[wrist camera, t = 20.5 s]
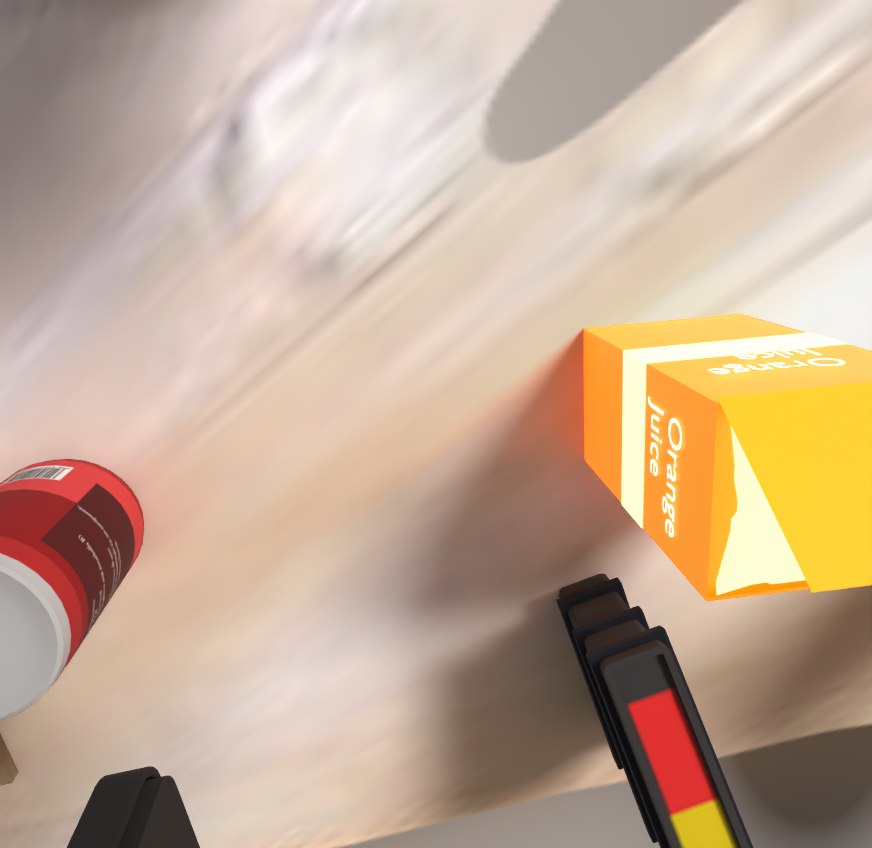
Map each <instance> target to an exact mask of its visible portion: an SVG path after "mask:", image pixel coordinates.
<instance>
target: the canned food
mask: <svg viewBox="0 0 872 848" xmlns="http://www.w3.org/2000/svg"><path fill="white" fill-rule="evenodd" d="M143 534H144V521H143V513H142V510H141V507H140V504H139V501H138V499H137V498H136V496H135V494H134V493H133V491H132V490H131V488H130V487H129V486H128V485H127V484H126V483H125V482H124V481H123V480H122V479H121V478H120V477H118V476H117V475H115V474H114V473H113V472H111V471H110V470H107V469H105V468H103V467H101V466H99V465H97V464H93V463H90V462H86V461H82V460H73V459H62V460H51V461H45V462H41V463H37V464H32V465H30V466H27V467H25V468H23V469H21V470H19V471H17V472H15V473H14V474H13V475H11V476H10V477H9V478H7V479H6V480H4V481H3V482H2V483H0V720H2V719H6V718H8V717H10V716H12V715H15V714H17V713H19V712H21V711H23V710H25V709H26V708H27V707H29V706H30V705H32V704H33V703H35V702H36V701H37V700H38V699H39V698H40V697H41V696H42V695H43V694H44V693H45V692H46V691H47V690H48V689H49V688H50V686H51V685H52V684H53V683H54V682H55V681H56V680H57V679H58V677H59V676H60V674H61V673H62V671H63V670H64V668H65V667H66V666H67V664H68V663H69V661H70V660H71V658H72V657H73V655H74V654H75V652H76V651H77V649H78V648H79V646H80V645H81V643H82V642H83V640H84V639H85V637H86V635H87V634H88V632H89V631H90V629H91V628H92V626H93V625H94V623H95V622H96V620H97V619H98V617H99V616H100V614H101V613H102V611H103V610H104V608H105V606H106V605H107V603H108V602H109V600H110V599H111V597H112V596H113V594H114V593H115V591H116V590H117V588H118V587H119V585H120V584H121V582H122V580H123V579H124V577H125V576H126V574H127V573H128V571H129V570H130V568H131V567H132V565H133V563H134V562H135V560H136V559H137V557H138V555H139V552H140V549H141V546H142V543H143Z"/></svg>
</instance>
